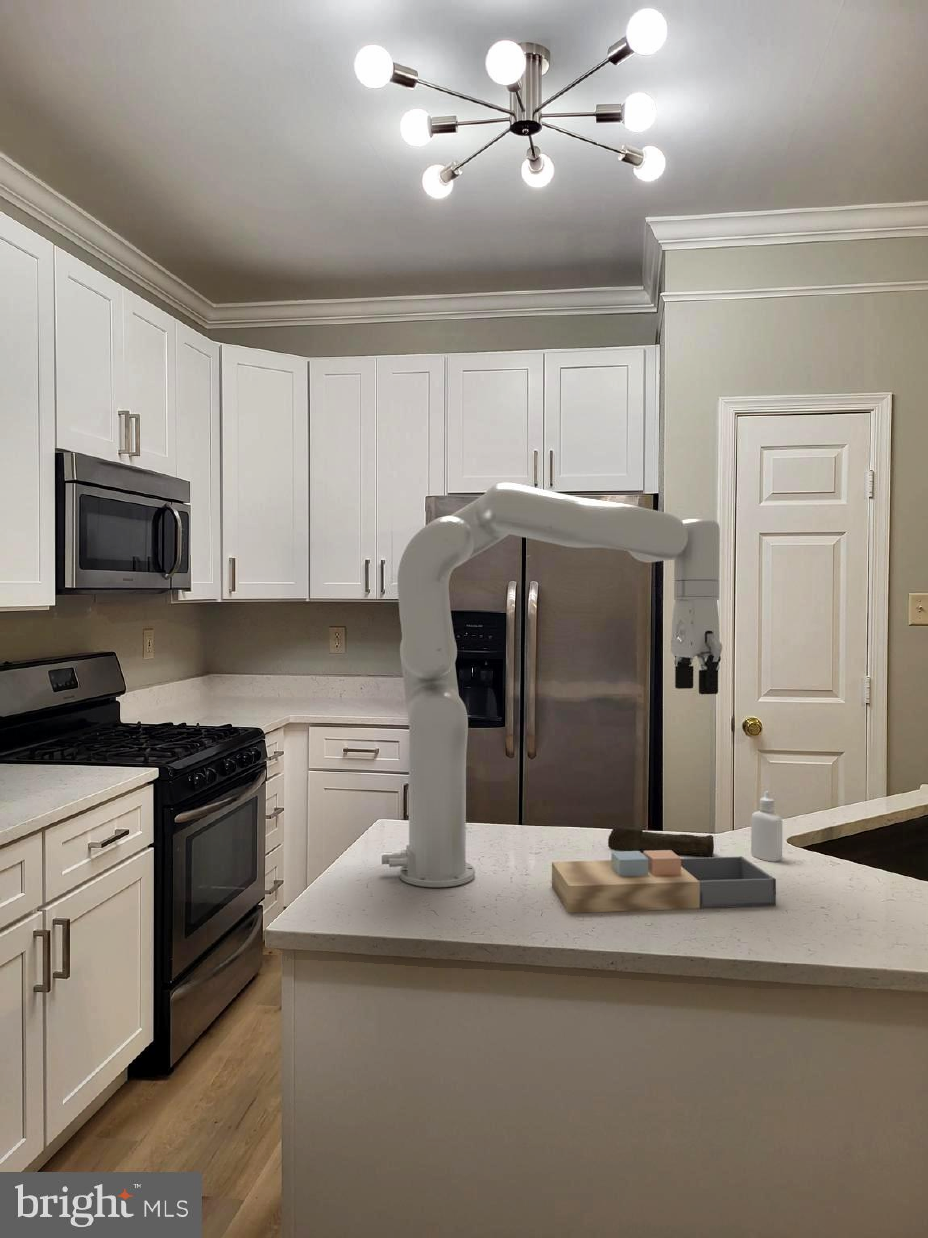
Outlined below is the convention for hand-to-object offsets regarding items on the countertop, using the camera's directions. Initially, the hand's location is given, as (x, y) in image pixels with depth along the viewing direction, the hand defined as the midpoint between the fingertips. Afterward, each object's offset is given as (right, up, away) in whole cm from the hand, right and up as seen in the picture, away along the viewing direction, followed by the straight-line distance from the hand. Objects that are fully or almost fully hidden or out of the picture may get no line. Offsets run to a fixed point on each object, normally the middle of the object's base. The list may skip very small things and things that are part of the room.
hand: (695, 691), depth 149 cm
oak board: (-15, -31, -14) cm, 37 cm away
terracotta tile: (-9, -27, -13) cm, 31 cm away
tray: (+1, -31, -12) cm, 33 cm away
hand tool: (-4, -31, +10) cm, 33 cm away
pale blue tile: (-14, -27, -14) cm, 33 cm away
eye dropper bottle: (+15, -31, +7) cm, 35 cm away
